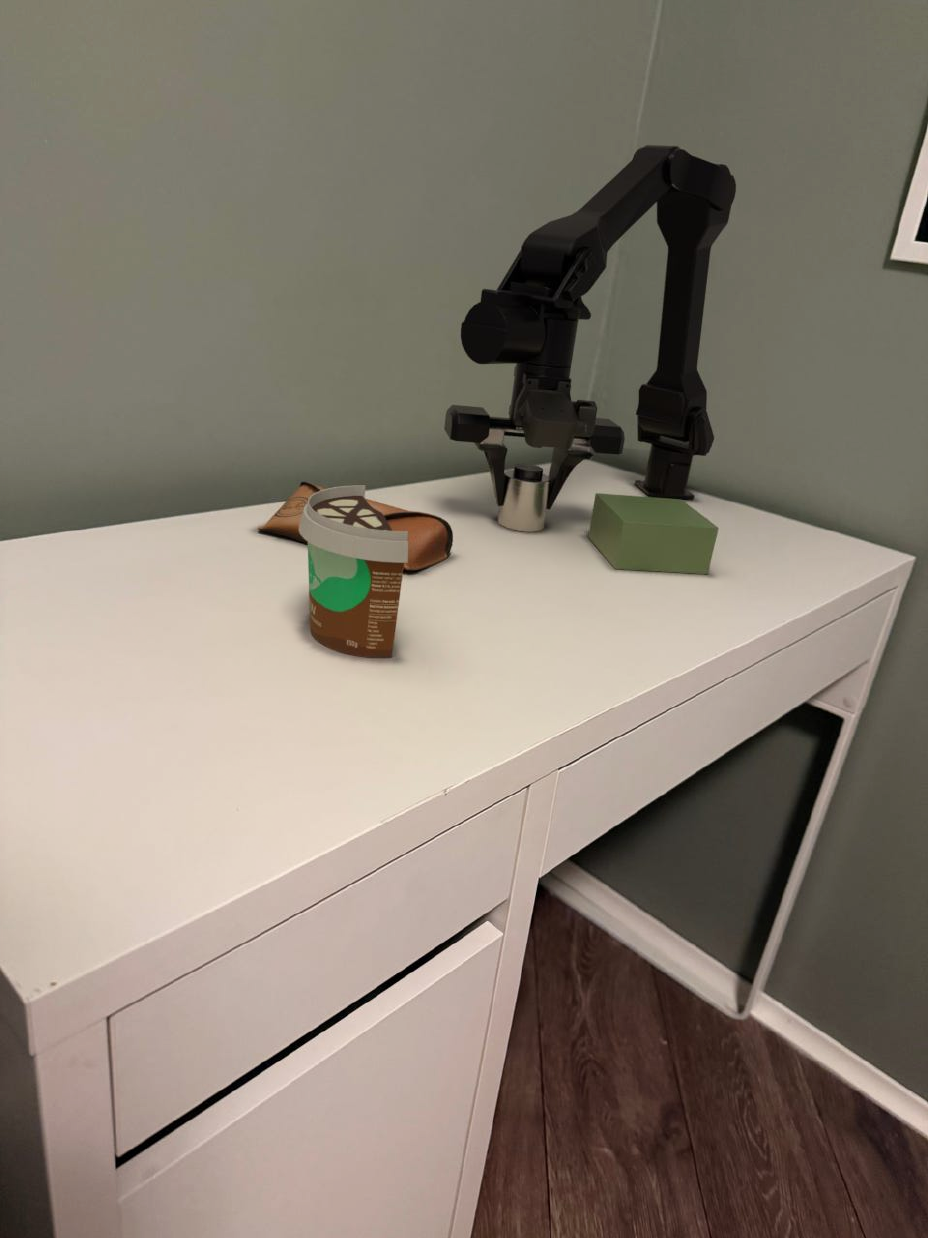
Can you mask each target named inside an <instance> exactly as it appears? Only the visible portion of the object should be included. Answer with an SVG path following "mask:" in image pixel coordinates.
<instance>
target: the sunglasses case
mask: <svg viewBox="0 0 928 1238" xmlns="http://www.w3.org/2000/svg"><path fill="white" fill-rule="evenodd" d="M325 489H326V488H324V487H323V486H319V485H317V484H315V483H312V482H310V481H301V482H300V484H299V487H298V488H297V489H296V490H295V491H294V492H293V494H291V495H290V497H289V498H288V499H287V500H286V501H285V502H284V503H283V504H282V505H281V507H279V508H278V510H276V511H275V513H274V514H273V515H272V516H271V517H270V518H269V519H268V521H266V523H265V524H264V525H262V526H259V527H257V530H258V531H262V532H266V533H271V534H276V535H278V536H279V535H280V536H283V537H287V538H290V539H294V540H296V541H299V542H302V543H306V544H308V541H307V540H305V539H304V538H303V537H302V536H301V534H300V532H299V530H298V529H299V524H300V520H301V516H302V513H303V509H304V507H305V505H306V504H307V503H308V499H309V498H310V496H311V495H313V494H314V493H316V492H319V491H321V490H325ZM365 500H366V501H367V502H368V503H369V504H370V505H371V507H373V508H374V509H376V510H378V511H380V512H381V513H382V514H383V515H384V517H385V518H386V520H387V522H388V524H389V526H390V527H391V529H392V530H393V531H408V536H407V541H408V563H404V568H403V570H405V571H415V572H416V571H420V570H424V569H427V568H430V567H432V566H434V565H437V564H438V563H440V562H442V561H444V560H446V559H447V558H449V555H450V553H451V551H452V547H453V543H454V532H453V529H452V526H451V525H450V523H449V522H448V521H447V520H445V519H444V518H442V517H440V516H438V515H435V514H431V513H427V512H422V511H414V510H407V509H403V508H400V507H397V506H394V505H390V504H387V503H384V502H383V503H382V502H378V501H376V500H372V499H368V498H365Z"/></svg>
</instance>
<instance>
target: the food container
mask: <svg viewBox="0 0 928 1238" xmlns="http://www.w3.org/2000/svg"><path fill="white" fill-rule="evenodd" d="M324 489H325V490H321V491H319V492H316V493H314V494H313V495H311V496H310V498H309V499H308V503H307V504H306V505H305V507H304V509H303V513H302V516H301V520H300V524H299V529H298V530H299V532H300V534H301V536H302V537H303V538H304V539H305V540H307V541H308V543H307V564H308V567H307V569H308V601H309V603H308V604H309V630H310V634H311V636H312V637H313V638H314V640H316V641H317V643H319V644H321V645H323V646H324V647H326V648H328V649H331V650H334V651H336V652H339V653H342V654H347V655H351V656H356V657H364V658H373V659H374V658H375V659H376V658H378V659H387V658H388V659H389V658H390V659H391V658H393V653H394V644H395V636H396V629H397V622H398V613H399V607H400V599H401V598H400V597H401V591H402V584H403V583H402V582H403V575H404V569H403V568H404V563H408V541H407V536H408V531H393V530H392V529H391V527H390V526H389V524H388V522H387V520H386V518H385V517H384V515H383V514H382V513H381V512H380V511H378V510H376V509H374V508H373V507H371V505H370V504H369V503H368V502H367V501H366V500H365V499H366V485H364V484H363V485H361V484H358V485H355V484H354V485H341V486H334V487H330V488H329V487H328V488H324Z"/></svg>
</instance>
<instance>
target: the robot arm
mask: <svg viewBox="0 0 928 1238" xmlns="http://www.w3.org/2000/svg"><path fill="white" fill-rule="evenodd" d="M736 193H737V183H736V179H735V176H734V175H733V174H731V171H730V169H729V167H728V166H727V165H726V164H723V163H713V162H711V161H708V160H705V159H704V158H703V159H702V158H700V157H697V156H695V155H692V154H691V153H689V151H687V150H685V149H683V148H681V147H680V146H678V145H656V144H645V145H644V146H643V147H640V148H638V149H637V150H636V151H635V152H634V154H633V157H632V159H631V161H629V162H628V163H627V164H626V165H625V166H624V167H623V168H622V169H621V170H620V171H619V172H618V173H617V174H615V176H614V177H612V178H611V179H610V180H609V181H608V182H606V184H605V185H603V186H602V188H600V189H599V191H598V192H596V194H594V195H593V196H592V197H591V198H590V199H589V200H588V201H587V202H585V204H584V205H583V206H581V208H579V209H578V210H577V211H575V212H573V213H572V214H570V215H567V216H563V217H560V218H557V219H554V220H550V221H548V222H547V223H545V224H544V225H542V226H540V227H538V228H537V229H534V231H532V232H531V233H529V234H528V236H527V237H526V238H525V239H524V241H523V243H522V244H521V246H520V250H519V252H518V254H517V256H516V257H515V259H514V260H513V262H512V264H511V265H510V267H509V268H508V270H507V272H506V273H505V275H504V277H503V278H502V280H501V282H500V284H499V285H498V287H497V288H496V289H491V288H483V289H481V293H480V301H479V302H477V303H476V304H474V305H473V306H472V307H471V308H470V309H468V311H467V313H466V315H465V317H464V320H463V321H462V322H461V326H460V341H461V346H462V348H463V351H464V352H465V354H466V357H468V358H469V359H470V360H471V361H472V362H474V363H475V364H477V365H512V364H515V366H514V370H513V377H514V378H513V386H512V393H511V399H510V400H511V401H510V404H509V408H508V417H500V416H491V415H490V414H489V413H488V411H486V410H485V408H484V407H482V406H481V407H480V406H472V405H471V406H470V405H459V404H451V405H450V407H449V408H447V409H446V412H445V417H444V426H443V430H444V431H445V433H446V434H447V437H448V438H449V440H451V441H455V442H463V443H474V445H475V446H476V447H477V449H478V450H479V451H482V452H483V453H484V456H485V460H486V462H487V465H488V470H489V474H490V479H491V483H492V488H493V493H494V498H495V503H496V505H497V507H500V506H502V501H503V495H504V473H505V469H506V457H507V453H508V448H507V446H506V445H505V444H504V440H505V437H514V438H515V437H516V438H524V442H525V444H527V445H528V446H529V447H531V448H535V449H541V448H553V451H552V457H551V462H550V467H549V472H548V476H549V477H550V478H551V485H550V491H549V497H548V504H547V510H546V511H548V510H551V509H552V507H553V506H554V503H555V501H556V500H557V497H558V496H559V494H560V492H561V490H562V489H563V487H564V485H565V483H566V481H567V479H568V478H569V476H570V475H571V473H572V472H573V471H574V469H575V468H576V467H577V466H578V465H579V464H581V463H582V462H583V461H585V460H588V461H589V460H592V458H593V457H594V454H593V453H592V452H590V451H591V449H592V451H593V452H594V453H596V454H607V455H618V456H619V455H623V451H624V446H625V441H626V440H625V432H624V430H623V429H622V426H620V425H618V424H617V423H615V422H614V421H613V420H611V419H609V418H605V417H604V418H603V417H597V413H598V406H597V403H596V401H594V400H584V399H577V400H576V401H574V400H572V396H571V391H572V379H571V378H570V377H571V371H572V365H573V357H574V351H575V346H576V345H575V344H576V338H577V332H578V327H579V326H578V325H579V320H582V321H583V320H584V321H588V320H590V319H591V317H592V314H591V311H590V309H589V307H588V306H586V304H585V303H584V300H583V298H582V297H583V296H585V295H587V294H588V292H589V291H590V290H591V289H592V288H593V286H594V285H595V284H596V282H597V281H598V280H599V278H600V277H601V276H602V274H603V273H604V271H606V269H607V265H608V264H607V263H608V253H609V251H610V250H611V248H612V247H613V245H615V244H616V243H617V242H618V241H619V240H620V239H621V238H622V237H623V236H624V235H625V233H627V232H628V231H629V230H630V229H631V228H632V227H633V226H634V225H635V224H636V223H637V222H638V221H639V220H640V219H641V218H642V217H643V216H644V215H645V214H646V213H647V212H648V211H649V210H651V208H653V206H654V205H655V204H656V224H657V226H658V228H659V230H660V233H661V235H662V237H663V239H664V242H665V244H666V246H667V255H666V266H665V277H664V289H663V297H662V299H663V300H662V309H661V321H660V331H659V341H658V353H657V363H656V370H655V371H654V372H653V373H652V375H651V376H650V377H649V379H648V381H647V382H646V383H643V384H641V385H640V387H639V388H638V402H637V408H636V412H635V415H636V417H637V420H636V421H637V442H640V443H646V444H650V450H649V455H648V458H647V459H648V460H647V463H646V469H645V473H644V475H645V476H644V479H643V480H642V479H641V480H639V479H635V480H634V485H635V486H637V487H638V488H639V489H640V490H641V491H642V492H644V493H645V494H646V495H647V496H648V497H655V498H669V499H682V500H683V499H685V500H694V499H695V497H696V495H695V494H694V493H692V492H691V491H689V490H688V489H687V486H688V483H689V477H690V474H691V473H690V472H691V470H692V469H691V468H692V465H693V460H694V456H699V457H700V456H701V457H706V456H707V454H709V453H710V451H711V448H712V447H713V443H714V441H715V435H714V432H713V427H712V425H711V421H710V418H709V414H708V412H707V403H708V401H707V399H708V392H707V388H706V386H705V383H704V382H703V380H702V378H701V376H700V373H699V371H698V361H699V352H700V345H701V344H700V343H701V336H702V327H703V326H702V325H703V318H704V310H705V301H706V293H707V285H708V284H707V283H708V275H709V267H710V259H711V250H712V246H713V245H714V243H715V242H716V241H717V239H718V238H719V236H720V235H721V233H722V232H723V230H724V229H725V227H726V226H727V225H728V223H729V219H730V216H731V215H730V214H731V210H732V205H733V203H734V200H735V197H736Z"/></svg>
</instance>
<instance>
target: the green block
mask: <svg viewBox="0 0 928 1238" xmlns="http://www.w3.org/2000/svg"><path fill="white" fill-rule="evenodd" d="M592 506H593V507H592V512H591V517H590V523H589V528H588V534H587V537H588V539H589V540H590V541H591V542H592V544H594V546H595V547H596V548H597V550H599V552H600V553H601V554H602V555H603V556H604V558H605V559H606V560H607V562H608V563H610V565H611V567H613V569H614V570H626V571H629V570H630V571H645V572H663V573H678V574H679V573H681V574H697V575H708V574H709V571H710V567H711V563H712V559H713V554H714V550H715V547H716V546H715V545H716V542H717V537H718V532H719V527H718V526H717V525H716V524H715V523H713V522H712V521H711V520H709V519H708V518H706V516H704V515H703V514H702V513H700V511H699V512H698V510H696V509H695V508H694V507H692V506H691V505H690V504H688V502H686V501H685V500H683V499H682V498H668V497H655V496H638V495H626V494H612V493H600V492H599V493H598V492H596V493H594V501H593V505H592Z"/></svg>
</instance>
